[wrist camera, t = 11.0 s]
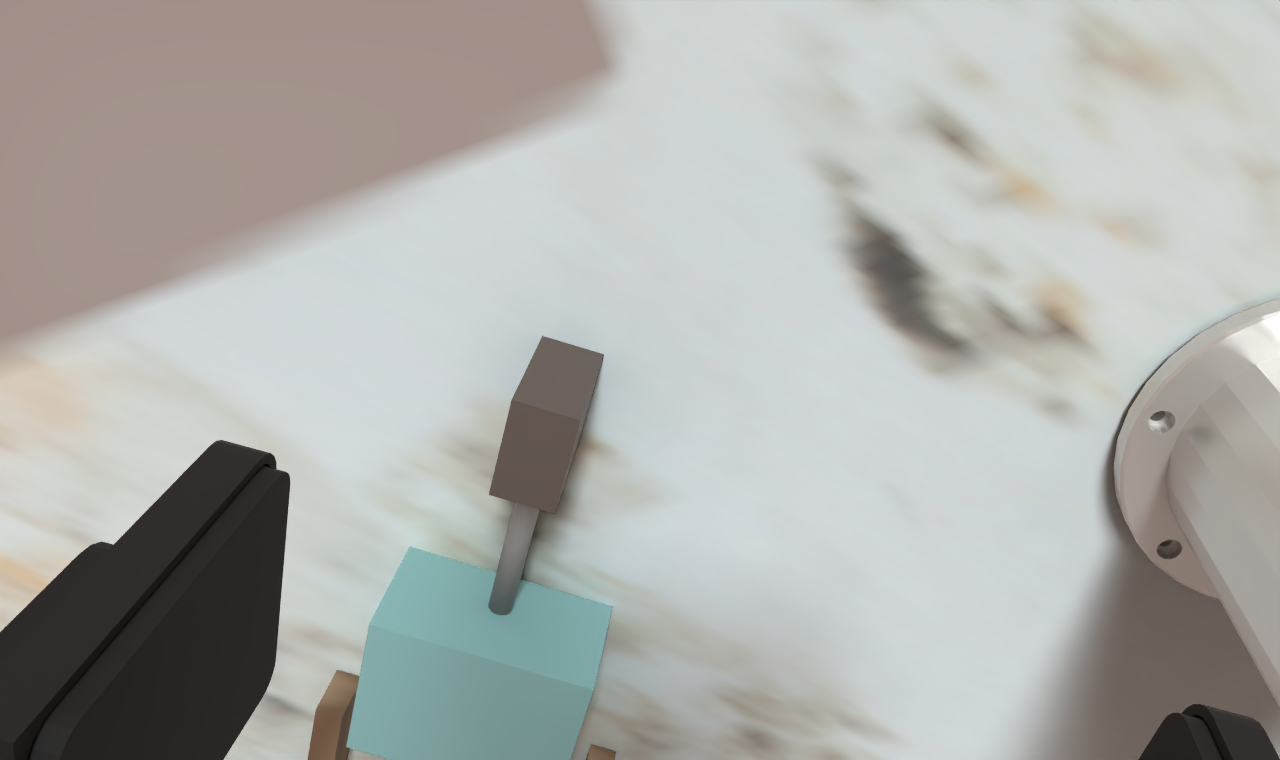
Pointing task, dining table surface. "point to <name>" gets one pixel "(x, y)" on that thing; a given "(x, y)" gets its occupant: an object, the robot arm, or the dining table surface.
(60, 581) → the robot arm
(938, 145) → the dining table surface
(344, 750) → the frame
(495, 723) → the teal block
